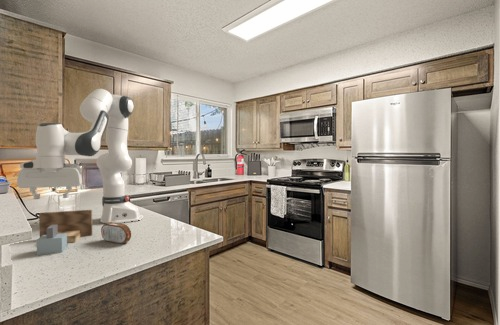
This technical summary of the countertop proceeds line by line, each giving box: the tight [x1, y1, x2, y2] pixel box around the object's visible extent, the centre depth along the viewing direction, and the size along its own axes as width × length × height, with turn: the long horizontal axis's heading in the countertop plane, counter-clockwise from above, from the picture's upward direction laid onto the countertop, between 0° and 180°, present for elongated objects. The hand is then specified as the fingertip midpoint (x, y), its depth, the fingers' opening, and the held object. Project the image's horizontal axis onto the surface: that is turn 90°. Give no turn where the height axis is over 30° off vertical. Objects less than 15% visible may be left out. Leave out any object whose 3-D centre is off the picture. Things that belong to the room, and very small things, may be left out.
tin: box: [100, 222, 132, 245], centre depth 110 cm, size 15×3×8 cm, turn 71°
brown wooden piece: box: [38, 209, 93, 244], centre depth 112 cm, size 20×10×12 cm, turn 111°
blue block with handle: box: [36, 225, 68, 256], centre depth 99 cm, size 8×6×10 cm
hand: (51, 198), depth 99 cm, fingers open, 8 cm apart
